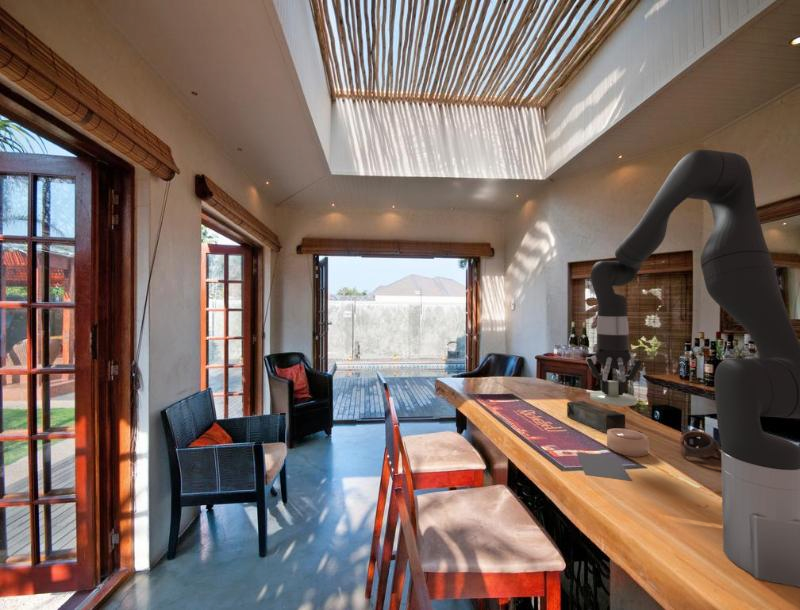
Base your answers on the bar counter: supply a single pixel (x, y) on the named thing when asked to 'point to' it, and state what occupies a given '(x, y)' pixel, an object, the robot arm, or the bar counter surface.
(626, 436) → the bowl
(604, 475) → the mat
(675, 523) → the bar counter surface
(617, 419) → the beverage carton
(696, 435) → the pottery mug
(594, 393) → the lid
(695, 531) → the bar counter surface
